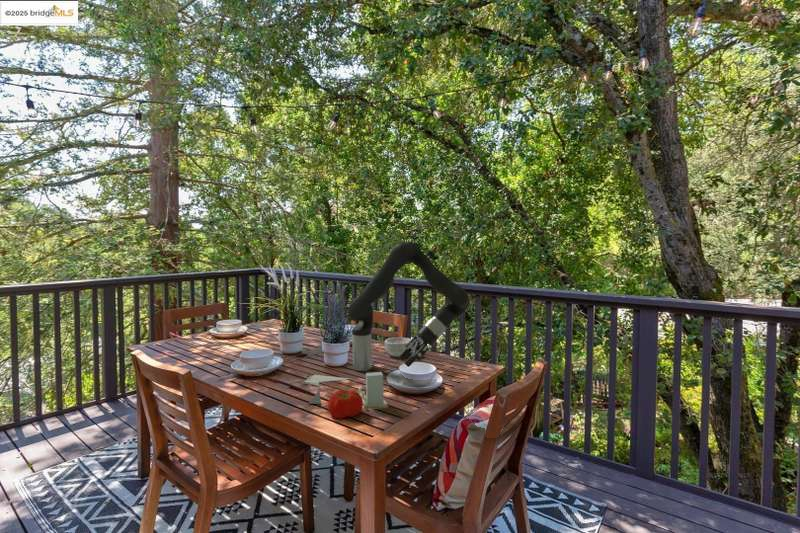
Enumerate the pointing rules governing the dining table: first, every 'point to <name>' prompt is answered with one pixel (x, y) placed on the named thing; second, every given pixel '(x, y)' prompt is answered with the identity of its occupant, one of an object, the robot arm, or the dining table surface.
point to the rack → (366, 404)
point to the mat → (316, 399)
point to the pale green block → (374, 389)
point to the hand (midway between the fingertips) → (403, 361)
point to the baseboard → (321, 379)
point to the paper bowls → (396, 345)
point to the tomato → (345, 404)
